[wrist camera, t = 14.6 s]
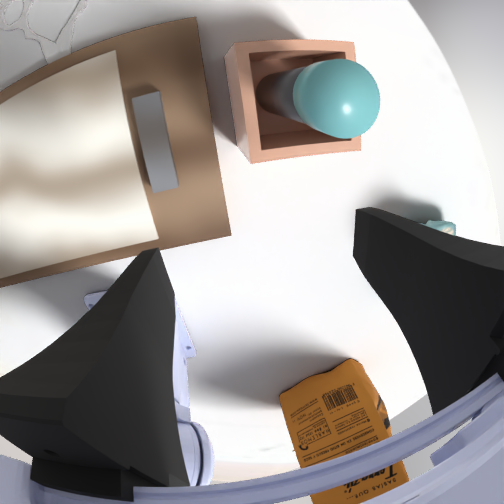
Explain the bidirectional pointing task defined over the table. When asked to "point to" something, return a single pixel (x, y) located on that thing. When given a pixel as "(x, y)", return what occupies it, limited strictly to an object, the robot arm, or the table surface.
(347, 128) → the marker
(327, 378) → the coffee package
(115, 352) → the robot arm
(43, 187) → the clipboard
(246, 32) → the table surface
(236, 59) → the pen cup
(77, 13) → the scissors
